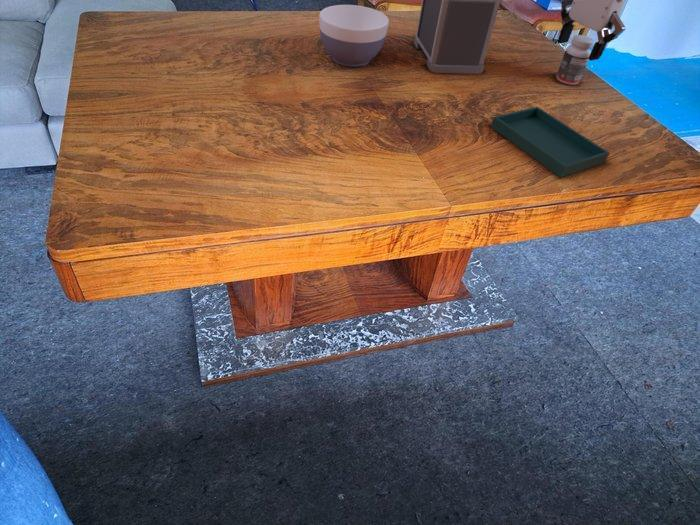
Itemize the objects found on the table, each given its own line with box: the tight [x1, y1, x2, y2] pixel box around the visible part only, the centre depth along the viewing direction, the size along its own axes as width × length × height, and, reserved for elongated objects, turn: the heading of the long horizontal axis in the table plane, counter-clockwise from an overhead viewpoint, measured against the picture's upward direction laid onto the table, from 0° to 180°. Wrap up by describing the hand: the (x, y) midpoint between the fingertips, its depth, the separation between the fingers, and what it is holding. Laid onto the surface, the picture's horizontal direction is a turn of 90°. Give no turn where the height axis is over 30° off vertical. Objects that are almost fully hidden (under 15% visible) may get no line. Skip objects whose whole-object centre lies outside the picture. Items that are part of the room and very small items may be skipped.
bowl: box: [318, 4, 390, 68], centre depth 118 cm, size 16×16×10 cm
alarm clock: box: [413, 0, 502, 75], centre depth 121 cm, size 18×13×18 cm
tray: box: [490, 106, 610, 178], centre depth 100 cm, size 19×12×2 cm, turn 30°
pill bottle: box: [555, 34, 595, 86], centre depth 120 cm, size 6×6×10 cm
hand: (577, 50), depth 119 cm, fingers open, 9 cm apart
